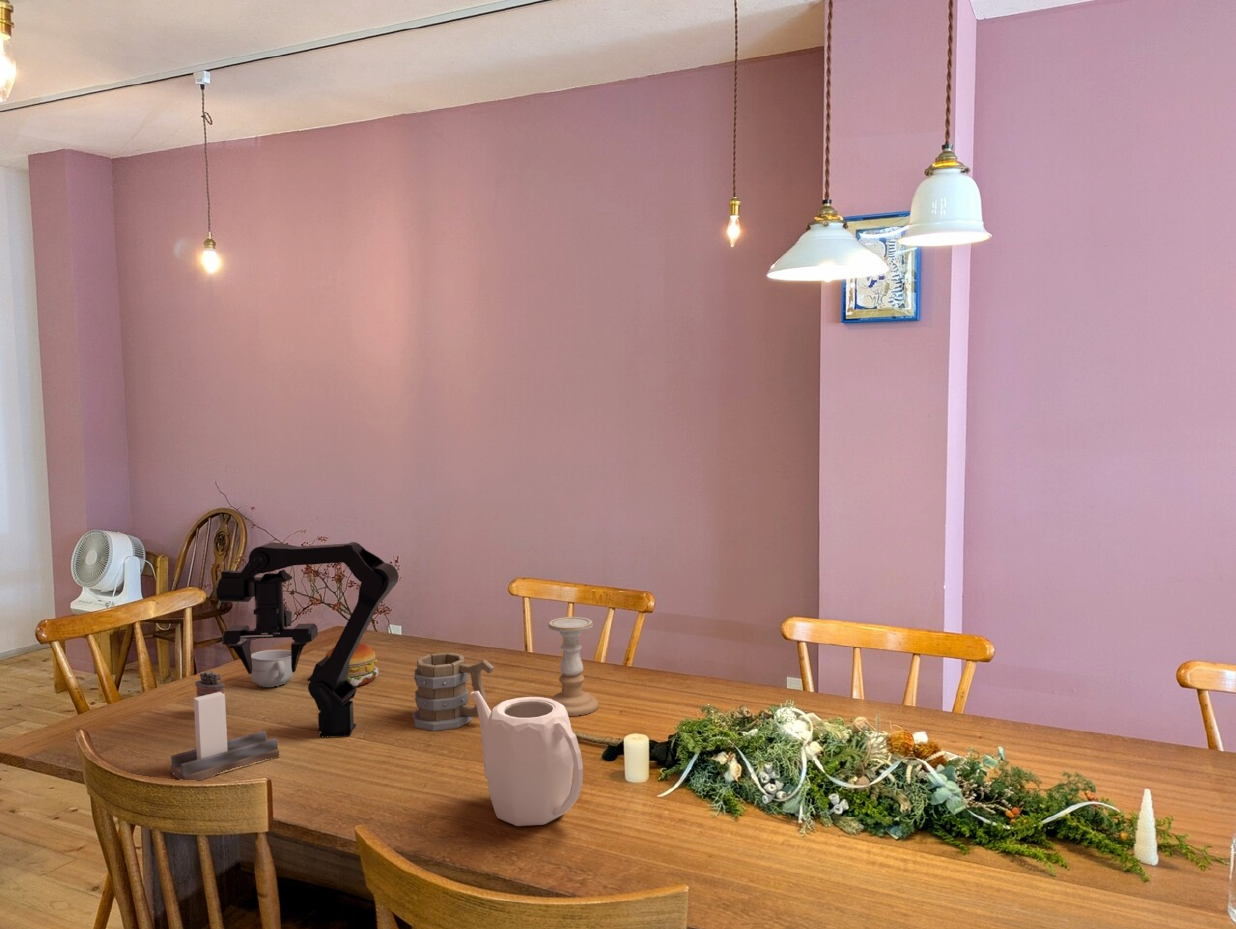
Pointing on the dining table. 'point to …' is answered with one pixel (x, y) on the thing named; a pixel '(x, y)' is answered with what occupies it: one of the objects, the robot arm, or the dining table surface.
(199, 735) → the door panel
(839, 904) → the dining table surface
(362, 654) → the burger
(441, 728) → the tankard
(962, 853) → the dining table surface
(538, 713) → the watering can
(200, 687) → the lighter
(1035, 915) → the dining table surface
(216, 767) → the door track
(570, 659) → the candle holder
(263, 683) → the teacup
